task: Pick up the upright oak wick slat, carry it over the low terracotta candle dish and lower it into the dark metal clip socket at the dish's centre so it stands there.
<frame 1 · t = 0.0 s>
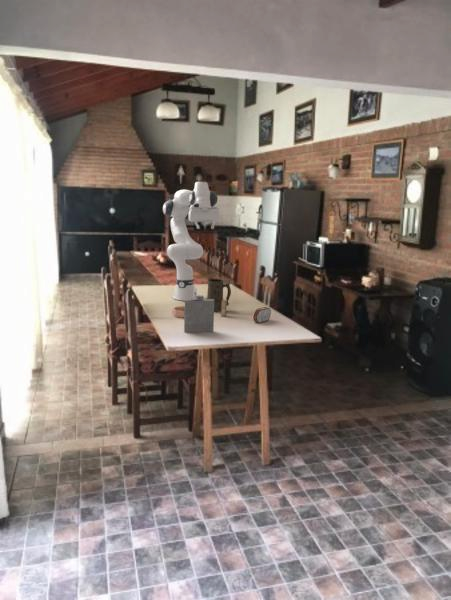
hand: (205, 228, 307), 52 cm above the table, tool tilted 20°, fingers open, 8 cm apart
tin: (262, 322, 295), on the table
hip flask: (199, 332, 268), on the table
candle jar: (184, 315, 304), on the table
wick: (223, 315, 305), on the table
beer stein: (218, 310, 321), on the table
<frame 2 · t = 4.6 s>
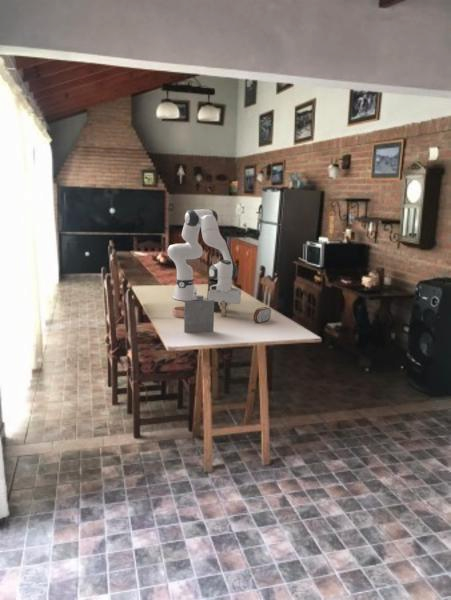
hand: (223, 309, 304), 4 cm above the table, tool pointing down, fingers closed on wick, 2 cm apart
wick: (223, 315, 305), on the table, touching gripper
everything else where it was.
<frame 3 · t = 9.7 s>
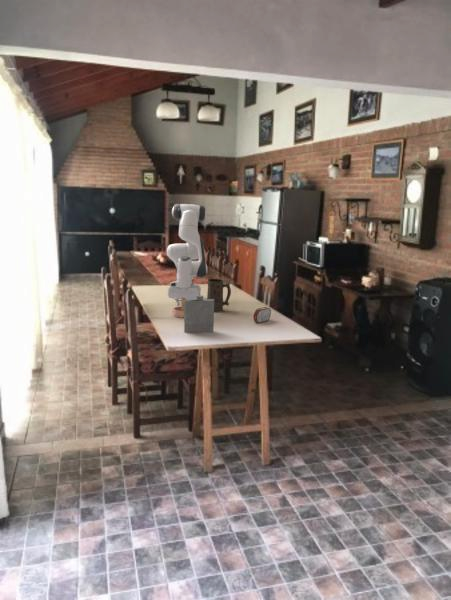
hand: (184, 306, 303), 6 cm above the table, tool pointing down, fingers open, 6 cm apart
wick: (184, 313, 304), point 1 cm above the table, touching candle jar
everything else where it was.
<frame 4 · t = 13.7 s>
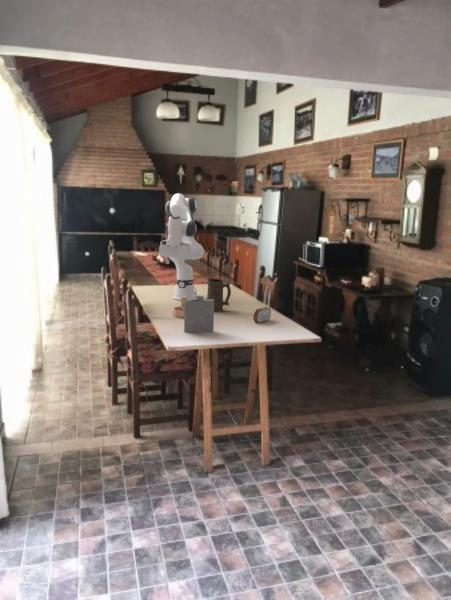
hand: (174, 264, 311), 29 cm above the table, tool pointing down, fingers open, 8 cm apart
nothing on the table moved.
at the end: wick 0.1 cm off-centre on the candle jar, point 1.0 cm above the candle jar's base; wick tilted 0°; the gripper is holding nothing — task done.
